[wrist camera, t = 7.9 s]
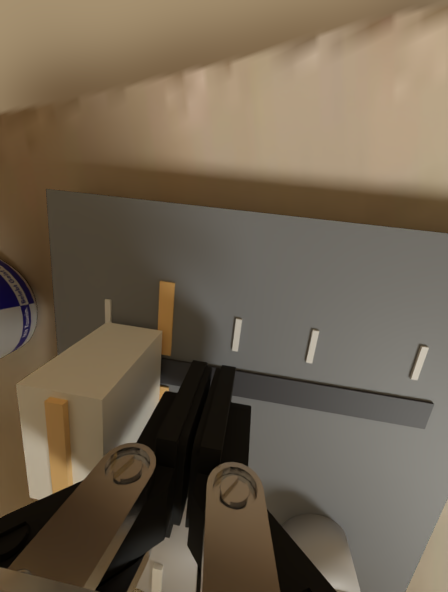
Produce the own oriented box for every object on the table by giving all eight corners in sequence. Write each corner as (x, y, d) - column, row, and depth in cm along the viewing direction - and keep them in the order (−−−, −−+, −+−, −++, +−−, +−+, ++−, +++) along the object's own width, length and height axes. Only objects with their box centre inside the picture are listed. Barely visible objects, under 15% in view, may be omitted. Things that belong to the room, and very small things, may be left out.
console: (509, 240, 11) (675, 257, 7) (375, 579, 17) (416, 709, 12) (78, 193, 13) (-20, 180, 8) (91, 514, 18) (37, 608, 14)
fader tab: (162, 330, 11) (97, 404, 7) (158, 412, 12) (100, 521, 8) (106, 322, 12) (9, 388, 7) (107, 403, 13) (24, 503, 8)
